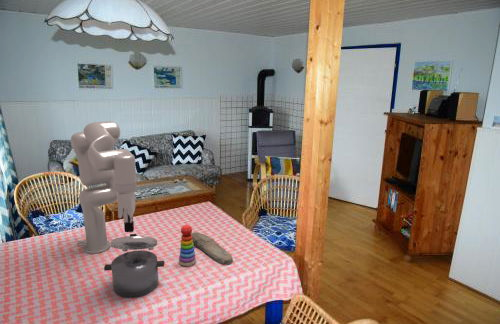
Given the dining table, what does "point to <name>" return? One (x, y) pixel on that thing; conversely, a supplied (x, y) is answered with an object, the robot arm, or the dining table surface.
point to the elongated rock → (211, 248)
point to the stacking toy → (187, 247)
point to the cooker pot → (134, 273)
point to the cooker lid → (133, 242)
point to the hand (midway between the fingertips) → (129, 231)
